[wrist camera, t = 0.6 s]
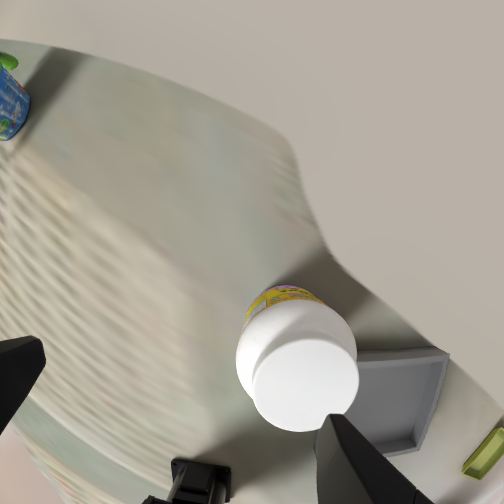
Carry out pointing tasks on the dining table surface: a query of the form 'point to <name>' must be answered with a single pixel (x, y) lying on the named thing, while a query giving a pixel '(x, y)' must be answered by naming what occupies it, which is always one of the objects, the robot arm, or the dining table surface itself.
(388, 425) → the tray
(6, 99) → the snack cup
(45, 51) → the dining table surface
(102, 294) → the dining table surface
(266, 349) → the supplement bottle
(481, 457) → the green rectangular frame
